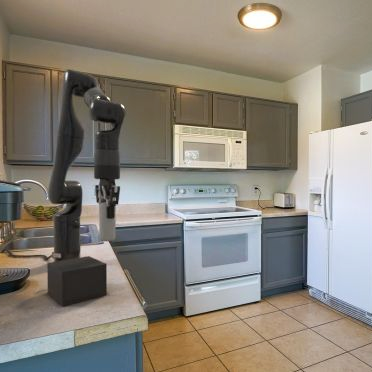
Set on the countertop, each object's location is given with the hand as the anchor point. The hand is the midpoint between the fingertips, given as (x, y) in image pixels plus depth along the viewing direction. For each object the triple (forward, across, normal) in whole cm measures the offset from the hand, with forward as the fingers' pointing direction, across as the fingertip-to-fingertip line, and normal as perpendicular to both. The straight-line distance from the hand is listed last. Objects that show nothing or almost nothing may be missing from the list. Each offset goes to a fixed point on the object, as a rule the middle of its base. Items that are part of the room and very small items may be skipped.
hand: (107, 217), depth 100 cm
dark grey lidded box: (+22, -3, +10) cm, 24 cm away
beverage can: (+8, 0, 0) cm, 8 cm away
